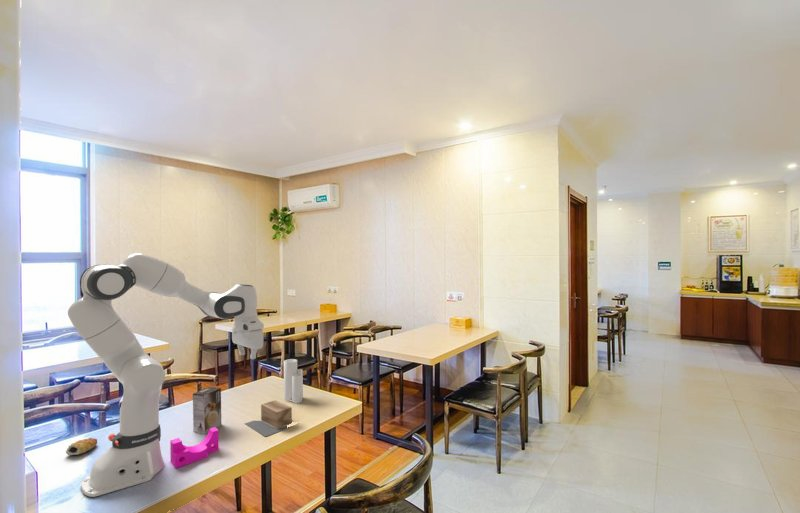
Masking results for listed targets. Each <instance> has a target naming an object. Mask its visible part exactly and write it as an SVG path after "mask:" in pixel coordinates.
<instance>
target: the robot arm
mask: <svg viewBox="0 0 800 513" xmlns="http://www.w3.org/2000/svg"><path fill="white" fill-rule="evenodd" d="M134 286H135V287H138V288H141V289H144V290H146V291H149V292H151V293H153V294H157V295H160V296H164V297H168V298H172V297H173V298H174V297H175V298H179V299H181V300H183V301H186V302H187V303H190V304H191V305H194V306H196V307H198V309H200V311H201V312H202V313H203V314H204V315H206V316H207V317H211V318H217V319H221V320H228V319H231V318H234V324H233V326H232V331H231V340H232V343H233V344H236V345H237V349H238V353H239V354H238V355H239V356H245V355H246V353H245V352H246V351H245V348H244V347H246V348H248V349H250V351H251V353H250V354H249V358H250V359H251V360H255V359H256V358H257V352H258V350H260V349H263V346H264V331H263V330H264V327H265V326H264V323H263V322H262V321H261V320H260V319H259V318H258V312H257V307H258V299H257V298H258V296H257V291H256V287H255V286H253V285H251V284H242V283H237V284H235V285H234V286H233V287H232V288H231V289H229V290H227V291H225V292H223V293H220V292H215V291H205V290H203V289H201V288H199V287H197V286H195V285H192V284H191V283H189V282H188V281H187V280H186V276H185V274H184V273H183V271H181V270H180V269H178V268H177V267H175V266H174V265H172V264H169V263H168V262H165V261H163V260H161V259H159V258H157V257H153V256H151V255H147V254H144V253H141V252H139V253H138V252H136V253H132V254H130V255H129V256H126V258H125V259H124V260H123V261H122V263H121V264H119V265H114V264H113V265H111V264H107V263H106V264H105V263H104V264H95V265H92V266H89V267H87V269H85V270H84V271H83V272H82V274H81V276H80V279H79V290H80V293H79V294H80V297H81V298H79V299H78V300H76V301H74V302H73V303H72V304H71V305H70V307H69V308H68V310H67V315H68V318H69V320H70V322H71V324H72V326H73V328H74V329H75V330H76V332H77V333H78V334H79V335H80V337H81V338H82V339H83V340H84V341H85V342H86V343H87V345H88V346H89V347H90V348H91V350H92V351H93V352H94V353H95V354H96V355H97V356H98V358H99V359H100V360H101V362H103V363H104V365H105V367H107V369H108V370H109V371H110V372H111V373H112V374H113V376H114V377H115V378H116V379H117V380H118V381H119V383H121V384H122V386H123V393H122V394H123V395H122V400H121V406H120V409H119V432H117V434H115V433H110V434H109V435H108V436H107V439H108V440H109V442H111V443H112V444H111V447H109V449H107V450H106V451H105V452H104V453H103V454H101V455H100V456H99V457H98V458H97V459H96V460H95V461H94V462H93V464H92V466H91V468H90V474H89V475H88V476H85V478H83V480H82V481H81V484H80V489H81V492H82V493H83V494H84V495H85V496H87V497H91V498H94V497H98V496H103V495H106V494H109V493H111V492H115V491H119V490H123V489H126V488H130V487H132V486H135V485H140V484H142V483H146V482H149V481H151V480H152V479H153V478H154V477H155V475H156V474H158V473H159V472H160V471H161V470H162V469H164V467H165V465H166V463H165V460H164V458H163V454H162V449H161V443H160V442H161V436H162V434H161V433H162V430H161V424H160V423H159V422H160V418H159V417H160V409H159V407H160V397H161V393H162V387H163V383H165V382H164V381H165V379H166V377H165V376H166V373H165V370H164V367H163V366H162V364H161V362H159V361H157V360H156V359H154V358H153V357H151V356H150V355H149V353H147V352H146V350H145V349H144V348H143V346H142V345H141V343H140V342H139V340H138V339H137V337H136V335H135V334H134V333H133V331H132V330H131V329H130V328H129V326H128V325H127V324H126V323H125V321H124V320H123V319H122V317H120V315H119V314H118V313H117V312H116V311H115V310H114V307H113V304H112V301H113V300H115V299H119V298H120V297H122V296H123V295H124V294H126V293H127V292H128V291H129V290H130V289H132V288H133V287H134Z"/></svg>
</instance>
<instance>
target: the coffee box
mask: <svg viewBox="0 0 800 513" xmlns="http://www.w3.org/2000/svg"><path fill="white" fill-rule="evenodd" d="M221 389H222V387H214V386H208V387H206V388H203V389H201V390H199V391H196V392H194V393H192V420H193V422H192V423H193V424H192V425H193V426H192V427H193V428H192V430H193V433H199V434H204V435H205V434H208V432H209V429H210V428H213V427H216V428H218V427H219V426H221V425H222V390H221Z"/></svg>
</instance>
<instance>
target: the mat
mask: <svg viewBox="0 0 800 513" xmlns="http://www.w3.org/2000/svg"><path fill="white" fill-rule="evenodd" d="M244 425H245V426H247V427H249V428H250V429H251V430H253V431H255V432H257V433H258V434H260V435H261V436H262V437H264V438H268V437H270V436H272V435H275V434H277V433H280V432H282V431H285V430H288V429H290V428H289V427H288V429H287V426H284V427H281V428H279V429H276V428H274V427H272V426H270V425H269V424H267V423H265V422H263V421H261V420H251V421H248V422H245V423H244Z"/></svg>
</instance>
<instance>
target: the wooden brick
mask: <svg viewBox="0 0 800 513" xmlns="http://www.w3.org/2000/svg"><path fill="white" fill-rule="evenodd" d="M260 408H261V410H260V412H261V413H260V418H261V419H260V421H263V422H265V423H267V424H269V425H270V426H272V427H274V428H276V429H279V428H281V427H284V426H287V425H289V424H291V423H292V421H293V419H292V418H293V416H292V415H293V413H292V410H293V409H292V408H293V407H292V406H290V405H287V404H286V403H284V402H281V401H278V400H277V399H275V400H272V401H268V402H264V403H262V404H260Z"/></svg>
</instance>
